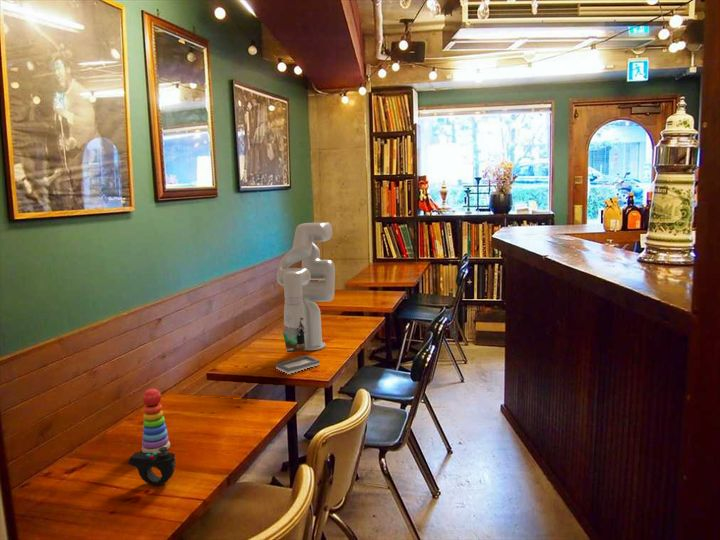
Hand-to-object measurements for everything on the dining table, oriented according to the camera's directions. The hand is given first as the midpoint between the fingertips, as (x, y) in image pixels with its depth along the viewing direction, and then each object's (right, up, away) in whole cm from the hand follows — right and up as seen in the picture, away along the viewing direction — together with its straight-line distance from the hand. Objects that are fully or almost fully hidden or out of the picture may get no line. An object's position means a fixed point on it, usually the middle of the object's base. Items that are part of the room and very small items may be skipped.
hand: (296, 342), depth 230 cm
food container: (+1, -3, -1) cm, 4 cm away
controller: (-28, -26, -86) cm, 94 cm away
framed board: (0, -11, +2) cm, 11 cm away
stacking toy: (-34, -24, -67) cm, 79 cm away
